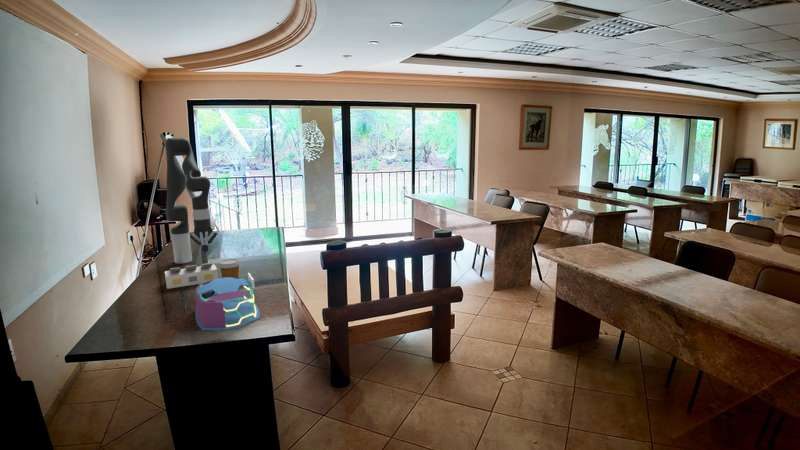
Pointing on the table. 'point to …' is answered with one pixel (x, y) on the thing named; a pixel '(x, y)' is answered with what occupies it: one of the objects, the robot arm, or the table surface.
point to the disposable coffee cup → (229, 268)
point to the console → (190, 276)
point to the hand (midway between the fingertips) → (205, 252)
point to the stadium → (225, 304)
